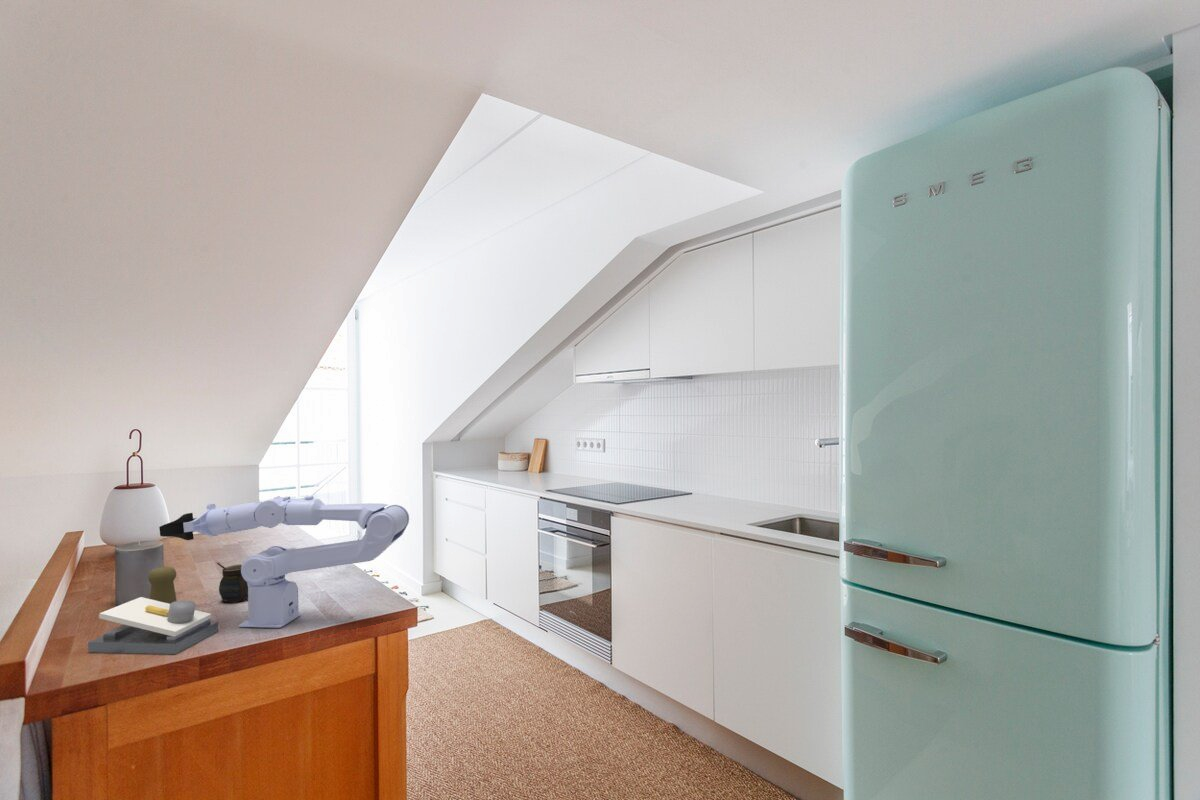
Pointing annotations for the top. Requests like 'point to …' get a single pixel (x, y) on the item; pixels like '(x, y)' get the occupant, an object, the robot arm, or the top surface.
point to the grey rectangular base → (149, 640)
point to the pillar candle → (136, 569)
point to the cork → (162, 584)
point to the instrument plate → (157, 615)
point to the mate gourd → (233, 584)
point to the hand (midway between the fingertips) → (173, 528)
